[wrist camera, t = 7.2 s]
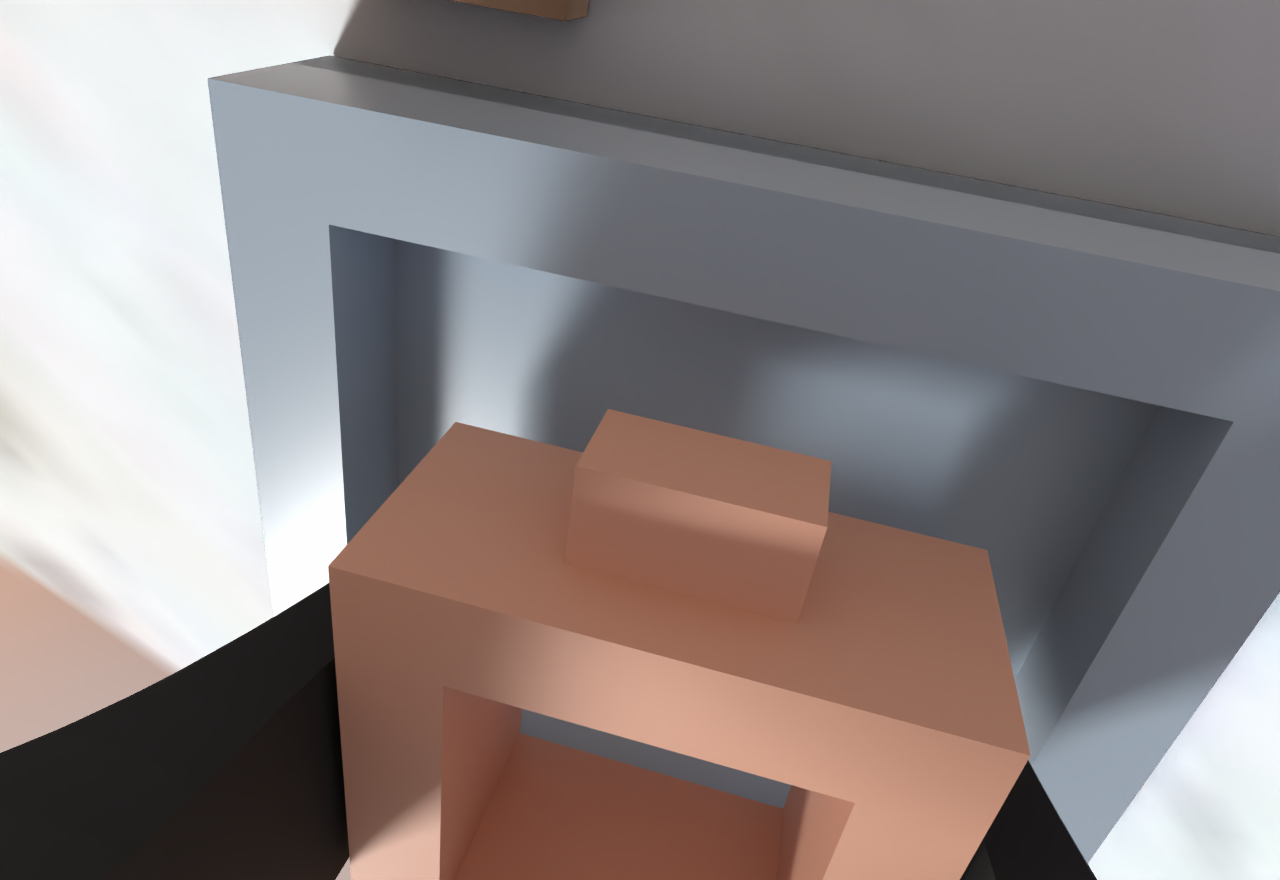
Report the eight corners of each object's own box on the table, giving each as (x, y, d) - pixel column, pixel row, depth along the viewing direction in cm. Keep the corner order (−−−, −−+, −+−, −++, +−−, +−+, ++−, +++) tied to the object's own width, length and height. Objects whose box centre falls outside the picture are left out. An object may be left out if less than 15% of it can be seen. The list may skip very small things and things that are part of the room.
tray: (1336, 248, 9) (1464, 327, 7) (966, 876, 14) (981, 1012, 13) (329, 55, 10) (207, 77, 8) (362, 700, 16) (296, 799, 14)
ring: (1024, 464, 8) (1086, 657, 6) (841, 878, 11) (835, 1095, 9) (458, 335, 8) (321, 461, 6) (447, 761, 12) (355, 938, 10)
